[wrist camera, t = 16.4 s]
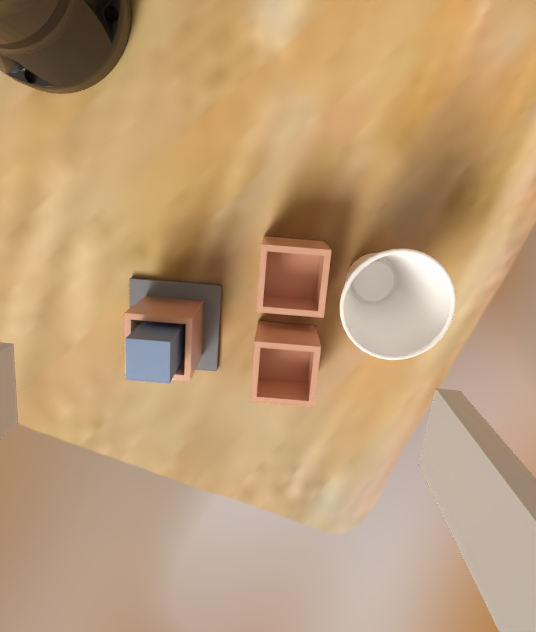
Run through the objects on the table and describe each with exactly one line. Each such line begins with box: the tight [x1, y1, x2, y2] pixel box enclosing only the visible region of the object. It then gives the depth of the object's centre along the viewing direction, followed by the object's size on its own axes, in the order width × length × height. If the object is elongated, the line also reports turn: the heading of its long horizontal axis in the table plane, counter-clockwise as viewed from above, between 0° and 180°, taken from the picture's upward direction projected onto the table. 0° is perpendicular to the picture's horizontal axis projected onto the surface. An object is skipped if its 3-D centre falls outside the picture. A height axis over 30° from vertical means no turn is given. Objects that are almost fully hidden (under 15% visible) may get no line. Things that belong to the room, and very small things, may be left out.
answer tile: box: [130, 278, 222, 371], centre depth 51 cm, size 10×10×1 cm
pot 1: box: [124, 296, 204, 381], centre depth 48 cm, size 6×6×7 cm
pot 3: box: [250, 321, 321, 407], centre depth 49 cm, size 6×6×7 cm
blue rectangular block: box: [125, 321, 186, 383], centre depth 45 cm, size 4×4×8 cm
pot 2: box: [256, 236, 332, 318], centre depth 46 cm, size 6×6×7 cm
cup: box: [340, 248, 456, 360], centre depth 44 cm, size 10×10×11 cm
